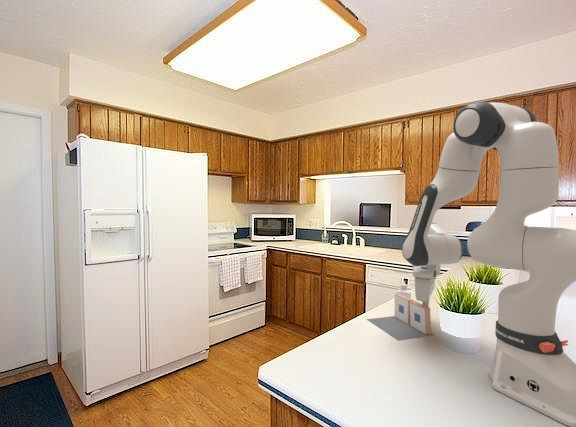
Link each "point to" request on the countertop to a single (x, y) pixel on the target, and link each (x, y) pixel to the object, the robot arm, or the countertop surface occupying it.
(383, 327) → the mat
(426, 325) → the tile
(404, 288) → the eye dropper bottle
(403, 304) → the tile
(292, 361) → the countertop surface
